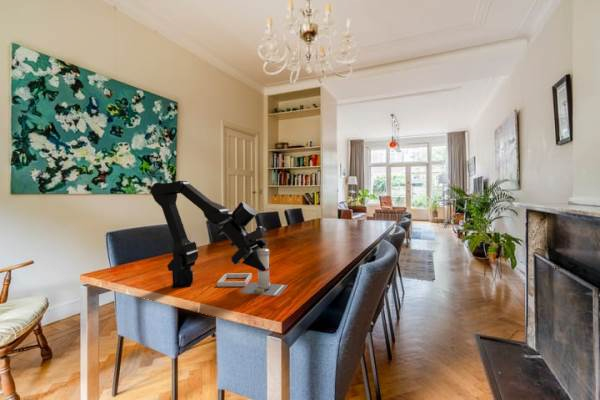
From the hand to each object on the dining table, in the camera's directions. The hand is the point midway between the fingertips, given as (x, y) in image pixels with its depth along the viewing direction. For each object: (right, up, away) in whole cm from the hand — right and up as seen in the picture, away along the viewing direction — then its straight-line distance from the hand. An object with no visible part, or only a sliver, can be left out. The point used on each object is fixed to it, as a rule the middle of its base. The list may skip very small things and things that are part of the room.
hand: (267, 268), depth 93 cm
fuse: (-1, -7, +1) cm, 7 cm away
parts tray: (-13, -8, +9) cm, 17 cm away
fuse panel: (-1, -8, +1) cm, 8 cm away
